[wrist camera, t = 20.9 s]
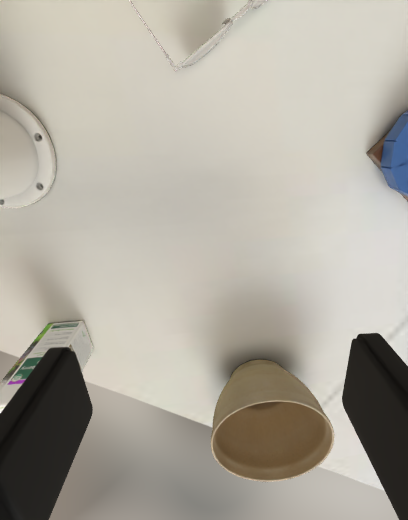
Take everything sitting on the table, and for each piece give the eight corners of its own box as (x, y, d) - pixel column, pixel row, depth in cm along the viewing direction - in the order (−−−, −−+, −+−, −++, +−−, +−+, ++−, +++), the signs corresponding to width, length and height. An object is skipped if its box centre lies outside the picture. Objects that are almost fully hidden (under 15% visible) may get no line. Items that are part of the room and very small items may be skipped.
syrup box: (84, 319, 43) (28, 401, 30) (95, 349, 46) (48, 438, 32) (48, 322, 44) (-23, 405, 30) (60, 353, 46) (0, 442, 33)
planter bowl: (268, 426, 52) (282, 495, 42) (192, 390, 49) (188, 456, 39) (328, 369, 46) (361, 433, 36) (247, 325, 43) (259, 382, 33)
